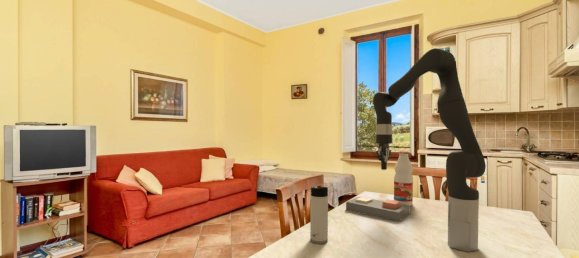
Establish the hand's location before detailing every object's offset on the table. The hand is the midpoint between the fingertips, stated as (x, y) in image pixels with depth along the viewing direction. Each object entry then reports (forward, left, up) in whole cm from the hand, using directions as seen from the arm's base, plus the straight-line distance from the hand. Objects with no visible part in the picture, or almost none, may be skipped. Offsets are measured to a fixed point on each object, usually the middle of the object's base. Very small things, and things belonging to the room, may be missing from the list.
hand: (384, 169), depth 145 cm
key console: (-2, +2, -21) cm, 21 cm away
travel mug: (-50, +2, -21) cm, 54 cm away
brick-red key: (-2, -5, -18) cm, 19 cm away
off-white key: (-2, +9, -20) cm, 22 cm away
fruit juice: (+21, -2, -21) cm, 29 cm away
